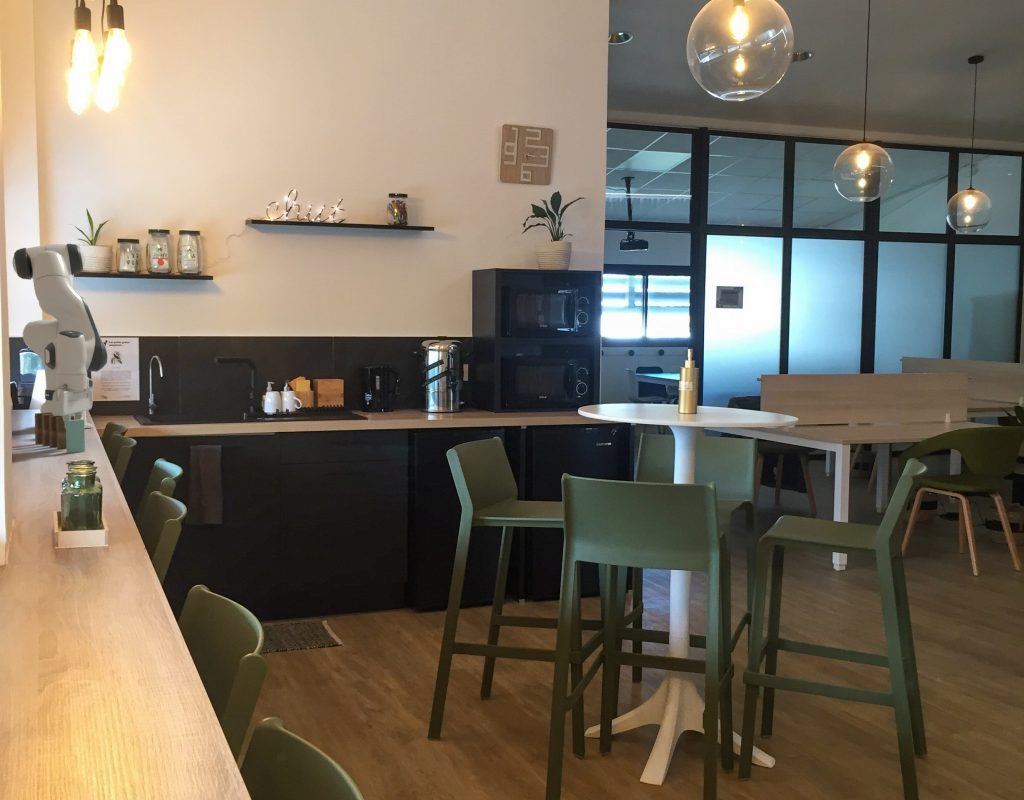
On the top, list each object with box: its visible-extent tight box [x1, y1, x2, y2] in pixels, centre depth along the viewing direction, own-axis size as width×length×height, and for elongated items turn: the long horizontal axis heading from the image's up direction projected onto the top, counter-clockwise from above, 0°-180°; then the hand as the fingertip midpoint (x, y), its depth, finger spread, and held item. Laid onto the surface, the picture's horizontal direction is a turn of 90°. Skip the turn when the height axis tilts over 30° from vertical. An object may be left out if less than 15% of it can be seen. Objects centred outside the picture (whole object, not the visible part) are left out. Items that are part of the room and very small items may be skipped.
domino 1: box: [34, 412, 52, 445], centre depth 330 cm, size 2×5×10 cm, turn 141°
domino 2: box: [41, 414, 54, 447], centre depth 327 cm, size 2×5×10 cm, turn 142°
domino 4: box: [56, 416, 74, 450], centre depth 321 cm, size 2×5×10 cm, turn 142°
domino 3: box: [49, 416, 62, 449], centre depth 324 cm, size 2×5×10 cm, turn 142°
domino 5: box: [66, 419, 86, 454], centre depth 314 cm, size 2×5×10 cm, turn 135°
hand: (73, 427), depth 318 cm, fingers open, 4 cm apart
